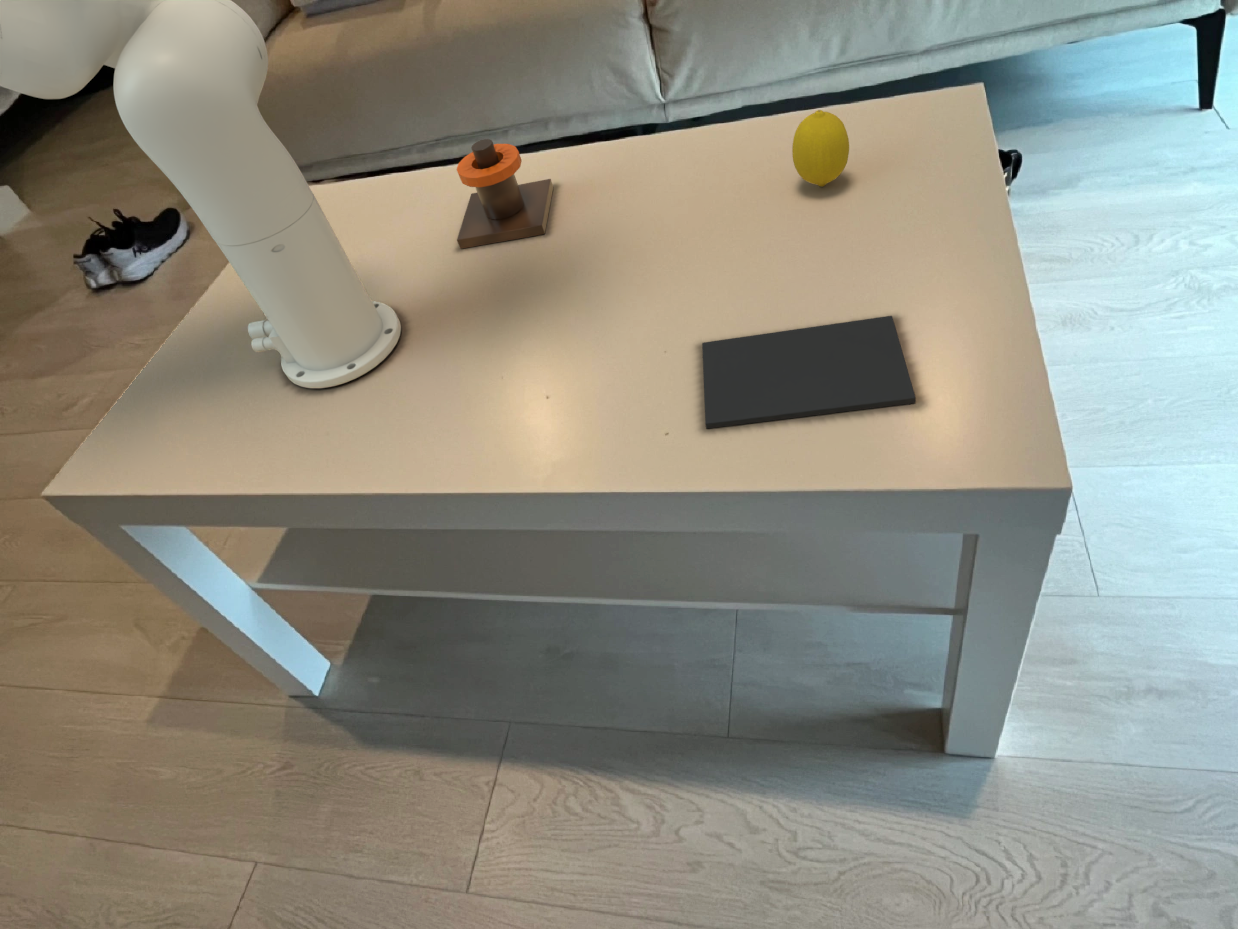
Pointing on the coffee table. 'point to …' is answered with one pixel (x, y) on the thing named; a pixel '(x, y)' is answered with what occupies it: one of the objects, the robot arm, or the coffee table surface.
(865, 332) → the mat
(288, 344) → the robot arm
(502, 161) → the orange flat ring
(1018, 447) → the coffee table surface
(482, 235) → the brown stepped peg stand
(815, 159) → the lemon
